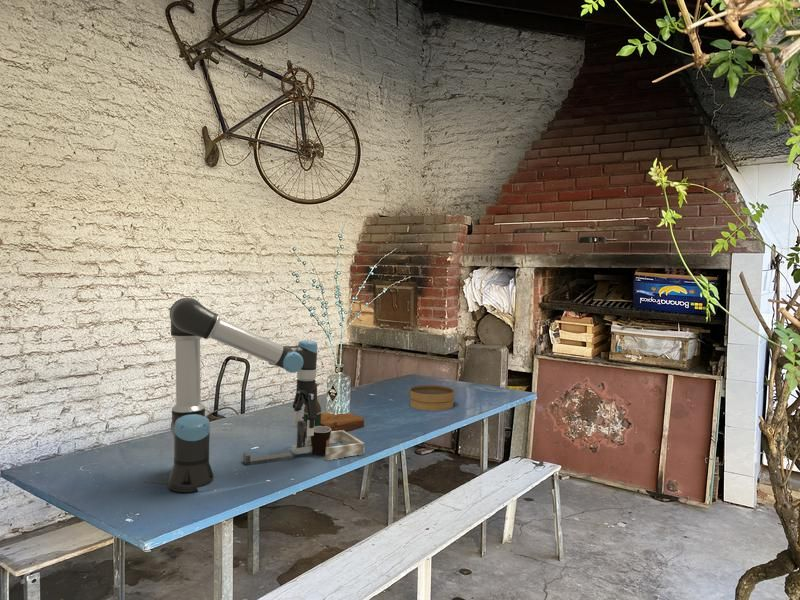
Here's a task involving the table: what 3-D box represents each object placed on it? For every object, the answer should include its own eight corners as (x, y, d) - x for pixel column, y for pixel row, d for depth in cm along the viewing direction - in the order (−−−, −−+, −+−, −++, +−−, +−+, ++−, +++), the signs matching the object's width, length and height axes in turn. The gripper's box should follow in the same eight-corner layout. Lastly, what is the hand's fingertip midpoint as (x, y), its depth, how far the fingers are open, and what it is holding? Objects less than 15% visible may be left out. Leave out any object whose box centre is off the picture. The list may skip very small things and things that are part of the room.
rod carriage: (298, 456, 226) (299, 425, 225) (289, 449, 235) (290, 419, 234) (328, 452, 233) (329, 422, 232) (318, 445, 241) (319, 416, 241)
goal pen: (326, 460, 227) (327, 448, 227) (306, 445, 244) (307, 434, 244) (364, 455, 236) (364, 443, 236) (342, 441, 253) (343, 430, 253)
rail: (246, 465, 218) (246, 456, 218) (242, 461, 222) (242, 452, 222) (292, 458, 228) (292, 449, 228) (288, 455, 231) (288, 446, 231)
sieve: (399, 408, 317) (400, 388, 316) (427, 401, 336) (428, 382, 335) (435, 417, 301) (436, 396, 300) (462, 410, 320) (463, 390, 319)
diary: (325, 438, 258) (326, 425, 258) (301, 428, 271) (301, 416, 271) (363, 429, 275) (364, 417, 274) (339, 420, 288) (339, 409, 287)
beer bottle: (312, 432, 265) (314, 380, 263) (323, 435, 260) (325, 383, 258) (299, 435, 259) (301, 382, 258) (310, 439, 254) (312, 385, 253)
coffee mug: (319, 458, 230) (320, 434, 229) (304, 452, 235) (305, 429, 234) (339, 451, 239) (340, 428, 238) (325, 445, 244) (326, 423, 243)
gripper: (327, 384, 221) (324, 438, 222) (303, 373, 242) (300, 422, 243) (309, 385, 217) (306, 440, 218) (286, 373, 238) (283, 423, 239)
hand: (303, 431), depth 231 cm, fingers open, 13 cm apart
